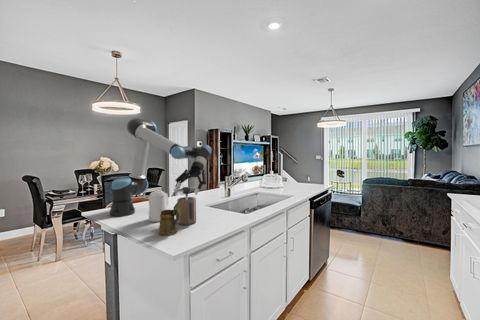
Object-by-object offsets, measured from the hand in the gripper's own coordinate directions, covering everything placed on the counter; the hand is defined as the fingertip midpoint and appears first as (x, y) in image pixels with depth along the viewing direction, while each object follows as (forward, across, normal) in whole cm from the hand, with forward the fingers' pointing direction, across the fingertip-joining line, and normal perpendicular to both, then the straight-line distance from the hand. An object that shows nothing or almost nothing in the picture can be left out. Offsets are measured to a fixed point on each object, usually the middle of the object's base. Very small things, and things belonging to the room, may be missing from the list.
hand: (185, 192), depth 133 cm
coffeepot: (+13, -20, +13) cm, 27 cm away
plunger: (+10, 0, +12) cm, 16 cm away
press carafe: (+12, +1, +13) cm, 18 cm away
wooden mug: (+24, +3, +1) cm, 24 cm away
